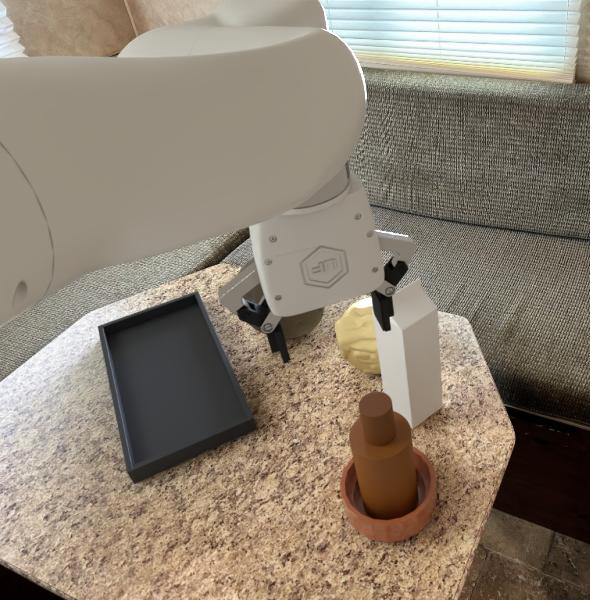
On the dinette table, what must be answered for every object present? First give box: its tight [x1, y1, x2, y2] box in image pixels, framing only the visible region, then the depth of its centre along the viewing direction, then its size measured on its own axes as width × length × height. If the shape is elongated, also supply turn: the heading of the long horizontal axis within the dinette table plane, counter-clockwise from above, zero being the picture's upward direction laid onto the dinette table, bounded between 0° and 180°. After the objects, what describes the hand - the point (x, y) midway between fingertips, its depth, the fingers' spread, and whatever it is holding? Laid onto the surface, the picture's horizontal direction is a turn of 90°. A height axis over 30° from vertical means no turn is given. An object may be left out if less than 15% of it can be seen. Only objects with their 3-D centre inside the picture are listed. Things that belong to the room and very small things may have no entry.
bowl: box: [339, 446, 438, 543], centre depth 75 cm, size 12×12×4 cm
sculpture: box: [334, 297, 381, 375], centre depth 93 cm, size 11×12×11 cm
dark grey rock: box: [236, 256, 325, 340], centre depth 99 cm, size 14×14×15 cm
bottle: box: [348, 390, 418, 520], centre depth 71 cm, size 7×7×18 cm
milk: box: [372, 278, 444, 430], centre depth 81 cm, size 6×6×22 cm
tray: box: [97, 290, 259, 485], centre depth 96 cm, size 18×35×3 cm, turn 28°
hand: (334, 337), depth 57 cm, fingers open, 9 cm apart
